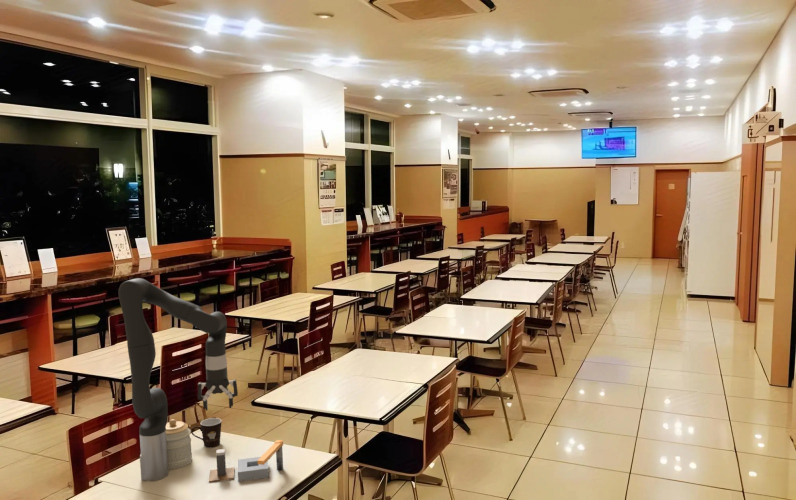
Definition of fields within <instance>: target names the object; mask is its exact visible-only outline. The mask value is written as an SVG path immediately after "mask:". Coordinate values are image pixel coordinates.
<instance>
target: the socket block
mask: <svg viewBox="0 0 796 500" xmlns="http://www.w3.org/2000/svg"><path fill="white" fill-rule="evenodd" d="M260 457H261V456H257V457H256V456H255V457H249V458H240V459H239V458H238V459H237V481H238V482H242V481H250V480H252V481H253V480H260V479H266V478H267V479H268V478H269V477H270V476H269V464H268V463H269V462H268V461H269V460H268V461H267V462H266V463H265V464H264V465H261V464H258V462H257V460H258V459H259V458H260Z"/></svg>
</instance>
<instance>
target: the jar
mask: <svg viewBox="0 0 796 500" xmlns="http://www.w3.org/2000/svg"><path fill="white" fill-rule="evenodd" d="M190 434H192V433H191V429H190V428H189V424H188V423H186V422H184V421H181V420H180V421H179V420H178V421H177V420H176V419H174V418H172V419H170V420H169V421H167V424H166V441H167V457H168V470H173V469H179V468H182V467H185V466H187V465H189V464H190V463H191V462H192V459H193V453H192V438H191V436H190Z"/></svg>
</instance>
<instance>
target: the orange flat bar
mask: <svg viewBox="0 0 796 500" xmlns="http://www.w3.org/2000/svg"><path fill="white" fill-rule="evenodd" d="M281 446H282V447H283V446H284V440H282V439H277V440H275V441H274V443H273V444H272V445H271V446H270V447H269V448H268V449H267V450H266V451H265V452H264V453H263V454H262V455H261V456H259V457H260V458H259V459H258V460H257V462H258V464H261V465H264V464H265V463H266V462H267V461H269V460H270V459H271V458H272V457H273V456H274V454H276V451H277V450H278V449H279V448H280V447H281Z"/></svg>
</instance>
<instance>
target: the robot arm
mask: <svg viewBox="0 0 796 500" xmlns="http://www.w3.org/2000/svg"><path fill="white" fill-rule="evenodd" d="M118 299H119V304H120V307H121V311H122V316H123V322H124V328H125V329H124V330H125V337H126V342H127V343H126V344H127V345H126V346H127V353H128V359H129V366H130V367H129V368H130V375H131V377H130V378H131V398H132V399H131V403H132V408H133V411H134V413H135V414H136V416H137V417H138V418H139V419H144V420H143V421H142V422H141V424H140V425H139V431H138V432H139V445H140V454H139V465H140V479H141V481H146V482H152V481H154V482H155V481H158V480H162V479H164V478H166V477H167V476H168V475H169V469H168V457H167V441H166V424H167V423H168V399H167V398H168V397H167V395H166V393H165V391H164V390H163V389H162V388H160V387H152V388H151V387H150V378H151V373H152V370H153V367H154V363H155V360H156V345H155V344H156V343H155V339H154V335H153V332H152V330H151V329H150V327H149V325H148V324H147V321H146V319H145V315H144V309H143V303H147V304H151V305H154V306H157V307H158V308H160V309H162V310H163V311H165V312H166V313H168V314H169V315H170V316H172V317H173V318H175V319H177V320H180V321H182V322H185V323H187V324H191V325H192V326H194V327H195V328H196V329H198V330H200V331H201V332H204V333H206V334H208V336H207V337H208V338H207V340H206V341H205V375H206V377H205V378H206V381H205V382H201V381H200V382H198V383H197V400H198V401H199V400H201V401H202V407H203V409H204V410H205V411H208V410H209V408H208V407H209V406H208V405H209V404H208V398H210V396H211V394H213V395H216V394H223V393H224V394H225V395H226V396H227V397H228V407H229V409H232V407H233V406H234V398H235V397H238V396H239V395H238V394H239V391H238V383H237V379H236V378H234V379H232V380H229V379H228V360H227V353H226V352H227V350H226V337H227V329H228V321H227V318H226V315H225V314H224V313H223V312H221V311H214V312H211V313H208V312H205V311H203V308H202V307H201V306H200V305H197V304H195V303H193V302H190V301H187V300H184V299H182V298H179V297H177V296H175V295H172V294H171V293H169V292H167V291H165V290H164V289H161V288H160V287H158V286H156V285H154V284H153V283H151V282H149V281H148V280H147V279H144V278H139V277H137V278H132V279H129V280H126V281H125V280H124V281H123V282H122V283H120V285H119V288H118ZM229 385H230V386H231V387H233V392H232V391H231V390H230V389H229V388H228V387H229ZM204 387H205V388H206V389H207V391H206V392H205V394H203V395H202V392H203V391H202V390H203V389H204Z"/></svg>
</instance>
